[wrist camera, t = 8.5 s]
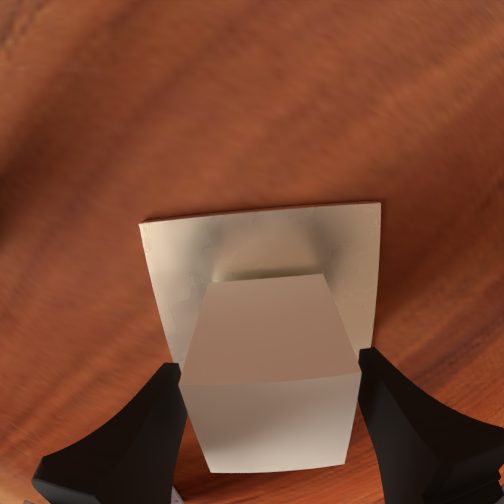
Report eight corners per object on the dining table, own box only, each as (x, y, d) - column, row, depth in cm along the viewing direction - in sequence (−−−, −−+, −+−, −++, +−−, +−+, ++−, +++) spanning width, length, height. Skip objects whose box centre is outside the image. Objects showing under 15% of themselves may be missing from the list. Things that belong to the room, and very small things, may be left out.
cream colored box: (321, 361, 16) (344, 463, 10) (224, 368, 17) (211, 472, 10) (323, 273, 15) (361, 372, 8) (208, 282, 15) (178, 385, 9)
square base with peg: (363, 379, 18) (393, 470, 12) (186, 392, 19) (164, 485, 12) (377, 200, 14) (457, 258, 8) (142, 220, 15) (68, 289, 8)
